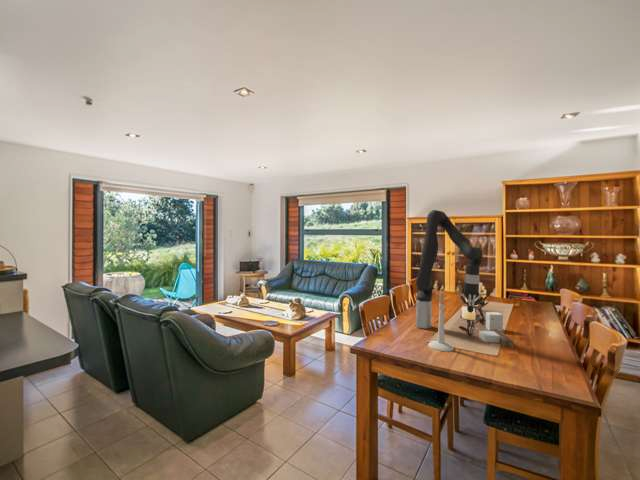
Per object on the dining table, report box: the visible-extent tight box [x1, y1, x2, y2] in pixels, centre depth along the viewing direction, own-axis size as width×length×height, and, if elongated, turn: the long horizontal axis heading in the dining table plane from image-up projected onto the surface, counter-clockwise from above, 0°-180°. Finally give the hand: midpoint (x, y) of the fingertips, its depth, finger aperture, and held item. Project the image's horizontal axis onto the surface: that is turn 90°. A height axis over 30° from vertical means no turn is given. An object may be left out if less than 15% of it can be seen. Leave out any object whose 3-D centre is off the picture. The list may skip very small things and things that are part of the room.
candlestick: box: [427, 291, 455, 353], centre depth 165 cm, size 13×13×30 cm
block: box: [478, 330, 501, 344], centre depth 177 cm, size 8×8×4 cm
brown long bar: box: [490, 329, 514, 348], centre depth 176 cm, size 4×20×4 cm, turn 173°
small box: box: [485, 311, 504, 332], centre depth 195 cm, size 8×6×10 cm
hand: (470, 312), depth 177 cm, fingers closed
